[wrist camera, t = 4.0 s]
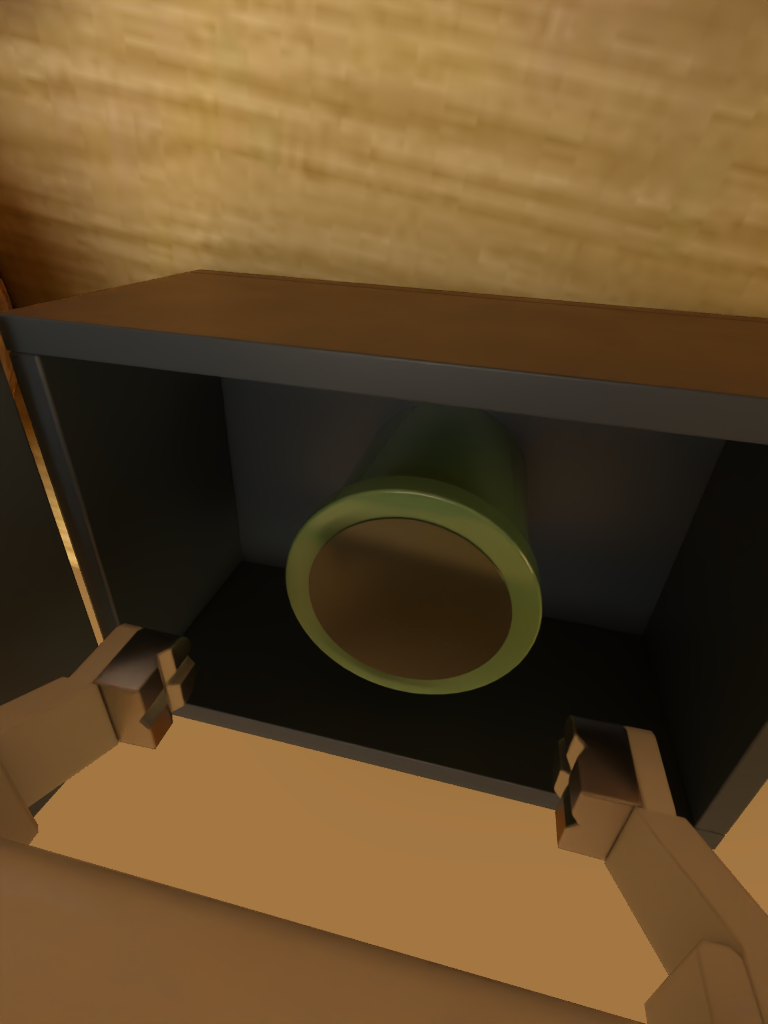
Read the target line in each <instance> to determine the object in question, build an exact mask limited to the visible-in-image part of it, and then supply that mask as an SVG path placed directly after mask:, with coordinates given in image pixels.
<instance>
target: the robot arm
mask: <svg viewBox="0 0 768 1024" xmlns="http://www.w3.org/2000/svg"><path fill="white" fill-rule="evenodd" d="M191 650H192V647H191V644H190V640H189V638H187V637H183V636H179V635H175V634H170V633H166V632H162V631H157V630H153V629H149V628H145V627H140V626H135V625H130V624H126V623H124V624H122V625H120V626H118V627H116V628H115V629H114V630H113V631H112V632H111V633H110V635H109V636H108V637H107V638H106V639H105V640H104V641H103V642H102V643H101V644H100V645H99V646H98V647H97V648H96V649H95V650H94V651H93V653H92V654H91V655H90V656H89V657H88V658H87V659H86V660H85V661H84V662H83V663H82V664H81V665H80V666H79V667H78V668H77V670H76V671H75V672H74V673H73V674H72V675H71V676H70V677H69V678H67V677H61V678H59V679H56V680H54V681H52V682H50V683H48V684H46V685H44V686H42V687H39V688H37V689H35V690H33V691H31V692H29V693H27V694H25V695H22V696H20V697H18V698H16V699H14V700H12V701H10V702H7V703H5V704H3V705H1V706H0V1024H645V1023H641V1022H637V1021H634V1020H631V1019H627V1018H623V1017H620V1016H617V1015H613V1014H610V1013H606V1012H603V1011H600V1010H596V1009H593V1008H589V1007H585V1006H582V1005H579V1004H576V1003H572V1002H569V1001H565V1000H562V999H558V998H555V997H551V996H548V995H544V994H541V993H538V992H534V991H531V990H527V989H524V988H520V987H517V986H513V985H510V984H507V983H503V982H500V981H496V980H493V979H489V978H486V977H482V976H479V975H475V974H472V973H469V972H465V971H462V970H458V969H455V968H451V967H448V966H444V965H441V964H437V963H434V962H430V961H427V960H424V959H420V958H417V957H413V956H410V955H406V954H403V953H399V952H396V951H393V950H389V949H386V948H382V947H379V946H375V945H372V944H368V943H365V942H361V941H358V940H355V939H351V938H348V937H344V936H341V935H337V934H334V933H330V932H327V931H323V930H320V929H316V928H313V927H310V926H306V925H303V924H299V923H296V922H292V921H289V920H286V919H282V918H278V917H275V916H272V915H268V914H265V913H261V912H258V911H255V910H251V909H248V908H244V907H240V906H237V905H234V904H230V903H227V902H223V901H220V900H217V899H213V898H210V897H206V896H203V895H199V894H196V893H192V892H189V891H185V890H182V889H178V888H175V887H172V886H168V885H165V884H161V883H158V882H154V881H151V880H147V879H144V878H140V877H137V876H134V875H130V874H127V873H123V872H120V871H116V870H113V869H109V868H106V867H102V866H99V865H96V864H92V863H89V862H85V861H81V860H78V859H74V858H71V857H68V856H64V855H61V854H57V853H54V852H51V851H47V850H44V849H40V848H37V847H33V846H29V844H30V842H31V841H32V840H33V838H34V837H35V836H36V834H37V833H38V824H37V823H36V821H35V819H34V817H33V816H32V814H31V812H30V810H29V809H28V807H29V806H31V805H32V804H34V803H35V802H37V801H38V800H39V799H41V798H42V797H44V796H45V795H47V794H48V793H49V792H51V791H52V790H54V789H55V788H57V787H58V786H59V785H61V784H62V783H64V782H65V781H66V780H68V779H69V778H71V777H72V776H74V775H75V774H76V773H78V772H79V771H80V770H82V769H84V768H85V767H86V766H88V765H89V764H91V763H92V762H93V761H95V760H96V759H98V758H99V757H101V756H102V755H103V754H105V753H106V752H108V751H109V750H111V749H112V748H113V747H115V746H116V745H118V742H123V743H127V744H132V745H137V746H142V747H146V748H151V749H156V747H157V746H158V744H159V742H160V741H161V740H162V738H163V736H164V735H165V734H166V732H167V730H168V729H169V728H170V726H171V724H172V723H173V720H172V712H174V711H175V710H177V709H179V708H180V707H182V706H184V705H185V703H186V702H187V700H188V698H189V697H190V695H191V693H192V690H193V687H194V685H195V682H196V666H195V663H194V662H193V661H192V659H191V658H190V657H189V656H188V654H189V652H190V651H191ZM564 734H565V738H563V739H561V740H559V741H558V745H557V748H556V751H555V757H554V764H553V783H554V790H555V792H556V793H557V795H558V796H559V798H560V801H559V804H558V807H557V809H556V812H555V813H556V814H555V815H556V828H557V841H558V848H560V849H564V850H568V851H571V852H575V853H579V854H582V855H586V856H590V857H593V858H597V859H601V860H604V861H605V865H606V867H607V868H608V870H609V872H610V874H611V875H612V877H613V879H614V880H615V882H616V884H617V886H618V888H619V889H620V891H621V893H622V894H623V896H624V898H625V899H626V901H627V903H628V905H629V907H630V908H631V910H632V912H633V914H634V915H635V917H636V919H637V921H638V922H639V924H640V926H641V928H642V929H643V931H644V933H645V935H646V936H647V938H648V940H649V942H650V943H651V945H652V947H653V949H654V950H655V952H656V954H657V956H658V957H659V959H660V961H661V962H662V964H663V966H664V968H665V969H666V971H667V973H668V975H669V976H668V977H667V979H666V980H665V981H664V982H663V983H662V984H661V986H660V987H659V988H658V989H657V990H656V991H655V992H654V993H653V995H652V996H651V997H650V998H649V999H648V1000H647V1002H646V1003H645V1010H646V1017H647V1024H768V915H767V914H766V913H765V912H764V911H763V910H762V908H761V907H760V906H759V905H758V904H757V902H756V901H755V900H754V899H753V898H752V896H751V895H750V894H749V893H748V892H747V890H746V889H745V888H744V887H743V886H742V885H741V883H740V882H739V881H738V880H737V879H736V877H735V876H734V875H733V874H732V873H731V871H730V870H729V869H728V868H727V867H726V866H725V864H724V863H723V862H722V861H721V860H720V859H719V857H718V856H717V855H716V854H715V853H714V851H713V850H712V849H711V848H710V847H709V845H708V844H707V843H706V842H705V841H704V839H703V838H702V837H701V836H700V835H699V834H698V832H697V831H696V830H695V829H694V828H693V826H692V825H691V824H690V823H689V822H688V820H687V819H686V818H683V817H679V816H677V815H676V811H675V807H674V804H673V800H672V796H671V793H670V789H669V785H668V781H667V778H666V774H665V770H664V767H663V763H662V759H661V755H660V752H659V748H658V744H657V741H656V737H655V735H654V734H653V733H652V731H648V730H644V729H639V728H634V727H629V726H622V725H621V724H616V723H611V722H606V721H601V720H595V719H590V718H585V717H580V716H574V715H569V716H568V718H567V719H566V722H565V725H564Z"/></svg>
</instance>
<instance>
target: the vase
mask: <svg viewBox="0 0 768 1024" xmlns="http://www.w3.org/2000/svg"><path fill="white" fill-rule="evenodd" d="M11 309H13V308H12V304H11V301H10V298H9V295H8V293H7V290H6V288H5V286H4V283H3V281H2V279H1V278H0V312H2V311H7V310H11ZM9 352H11V351H8V350H6V348H5V345H4V342H3V339H2V336H1V333H0V360H1V363H2V366H3V369H4V371H5V374H6V377H7V380H8V383H9V386H10V389H11V392H12V395H13V397H14V394H15V389H16V382H17V378H16V375H15V372H14V369H13V366H12V363H11V360H10V357H9Z"/></svg>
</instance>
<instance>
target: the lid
mask: <svg viewBox="0 0 768 1024" xmlns="http://www.w3.org/2000/svg"><path fill="white" fill-rule="evenodd" d="M97 647H98V643H97V641H96V638H95V635H94V632H93V629H92V626H91V623H90V620H89V617H88V614H87V611H86V608H85V605H84V602H83V600H82V597H81V594H80V591H79V588H78V585H77V582H76V579H75V576H74V573H73V570H72V567H71V564H70V562H69V559H68V556H67V553H66V550H65V547H64V544H63V541H62V538H61V535H60V532H59V529H58V526H57V524H56V521H55V518H54V515H53V512H52V509H51V506H50V503H49V500H48V497H47V494H46V491H45V488H44V486H43V483H42V480H41V477H40V474H39V471H38V468H37V465H36V462H35V459H34V456H33V453H32V450H31V447H30V445H29V442H28V439H27V436H26V433H25V430H24V427H23V424H22V421H21V418H20V415H19V412H18V409H17V407H16V404H15V401H14V398H13V395H12V392H11V389H10V386H9V383H8V380H7V377H6V374H5V371H4V369H3V366H2V363H1V360H0V706H1V705H3V704H5V703H7V702H10V701H12V700H14V699H16V698H18V697H20V696H22V695H25V694H27V693H29V692H31V691H33V690H35V689H37V688H39V687H42V686H44V685H46V684H48V683H50V682H52V681H54V680H56V679H59V678H61V677H67V678H69V677H70V676H71V675H72V674H73V673H74V672H75V671H76V670H77V668H78V667H79V666H80V665H81V664H82V663H83V662H84V661H85V660H86V659H87V658H88V657H89V656H90V655H91V654H92V653H93V651H94V650H95V649H96V648H97ZM64 783H65V782H64ZM64 783H62V784H61V785H59V786H58V787H57V788H55V789H54V790H52V791H51V792H49V793H48V794H47V795H45V796H44V797H42V798H41V799H39V800H38V801H37V802H35V803H34V804H32V805H31V806H29V807H28V809H29V810H30V812H31V814H32V816H33V817H34V816H35V815H36V814H37V812H39V811H40V809H41V808H42V807H43V806H44V805H45V804H46V803H47V802H48V801H49V799H50V798H51V797H52V796H53V795H54V794H55V793H56V792H57V790H58V789H59V788H60V787H61V786H62V785H63V784H64Z"/></svg>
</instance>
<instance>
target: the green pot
mask: <svg viewBox="0 0 768 1024" xmlns="http://www.w3.org/2000/svg"><path fill="white" fill-rule="evenodd" d="M286 588H287V594H288V597H289V601H290V604H291V607H292V609H293V611H294V614H295V616H296V618H297V620H298V621H299V623H300V625H301V626H302V628H303V630H304V631H305V632H306V634H307V635H308V636H309V637H310V639H311V640H312V641H313V642H314V643H315V644H316V645H317V646H318V647H319V648H320V649H321V650H322V651H323V652H324V653H325V654H326V655H327V656H329V657H330V658H331V659H332V660H333V661H335V662H336V663H338V664H339V665H340V666H342V667H343V668H345V669H347V670H348V671H350V672H352V673H354V674H355V675H357V676H359V677H361V678H363V679H366V680H368V681H370V682H373V683H375V684H378V685H381V686H384V687H387V688H391V689H394V690H398V691H403V692H409V693H415V694H427V695H444V694H453V693H460V692H465V691H470V690H474V689H477V688H480V687H483V686H486V685H488V684H490V683H492V682H494V681H496V680H498V679H500V678H501V677H503V676H504V675H506V674H507V673H509V672H510V671H511V670H513V669H514V668H515V667H516V666H517V665H518V664H519V663H520V662H521V661H522V660H523V659H524V657H525V656H526V655H527V654H528V653H529V651H530V649H531V648H532V646H533V644H534V642H535V641H536V638H537V635H538V633H539V630H540V626H541V621H542V616H543V597H542V582H541V576H540V570H539V567H538V564H537V561H536V558H535V556H534V554H533V552H532V550H531V548H530V546H529V498H528V469H527V463H526V460H525V457H524V454H523V452H522V450H521V448H520V446H519V444H518V442H517V441H516V439H515V438H514V436H513V435H512V434H511V433H510V431H509V430H508V429H507V428H506V427H505V426H504V425H503V424H501V423H500V422H499V421H498V420H497V419H495V418H494V417H492V416H491V415H489V414H487V413H486V412H484V411H482V410H479V409H474V408H466V407H458V406H450V405H442V404H434V403H422V404H418V405H415V406H412V407H409V408H407V409H405V410H403V411H401V412H399V413H397V414H396V415H394V416H393V417H391V418H390V419H389V420H388V421H386V422H385V423H384V424H383V425H382V426H381V427H380V429H379V430H378V431H377V432H376V434H375V435H374V437H373V438H372V440H371V441H370V443H369V445H368V446H367V448H366V449H365V451H364V452H363V454H362V455H361V457H360V459H359V460H358V462H357V463H356V465H355V466H354V468H353V469H352V471H351V473H350V474H349V476H348V477H347V479H346V480H345V482H344V483H343V485H342V487H341V488H340V490H338V491H337V492H335V493H333V494H332V495H330V496H329V497H327V498H326V499H325V500H324V501H323V502H321V503H320V504H319V505H318V506H317V507H316V508H315V509H314V510H313V512H312V513H311V514H310V515H309V517H308V518H307V519H306V521H305V522H304V524H303V525H302V527H301V528H300V529H299V531H298V533H297V535H296V536H295V538H294V540H293V542H292V544H291V547H290V550H289V552H288V556H287V562H286Z"/></svg>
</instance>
